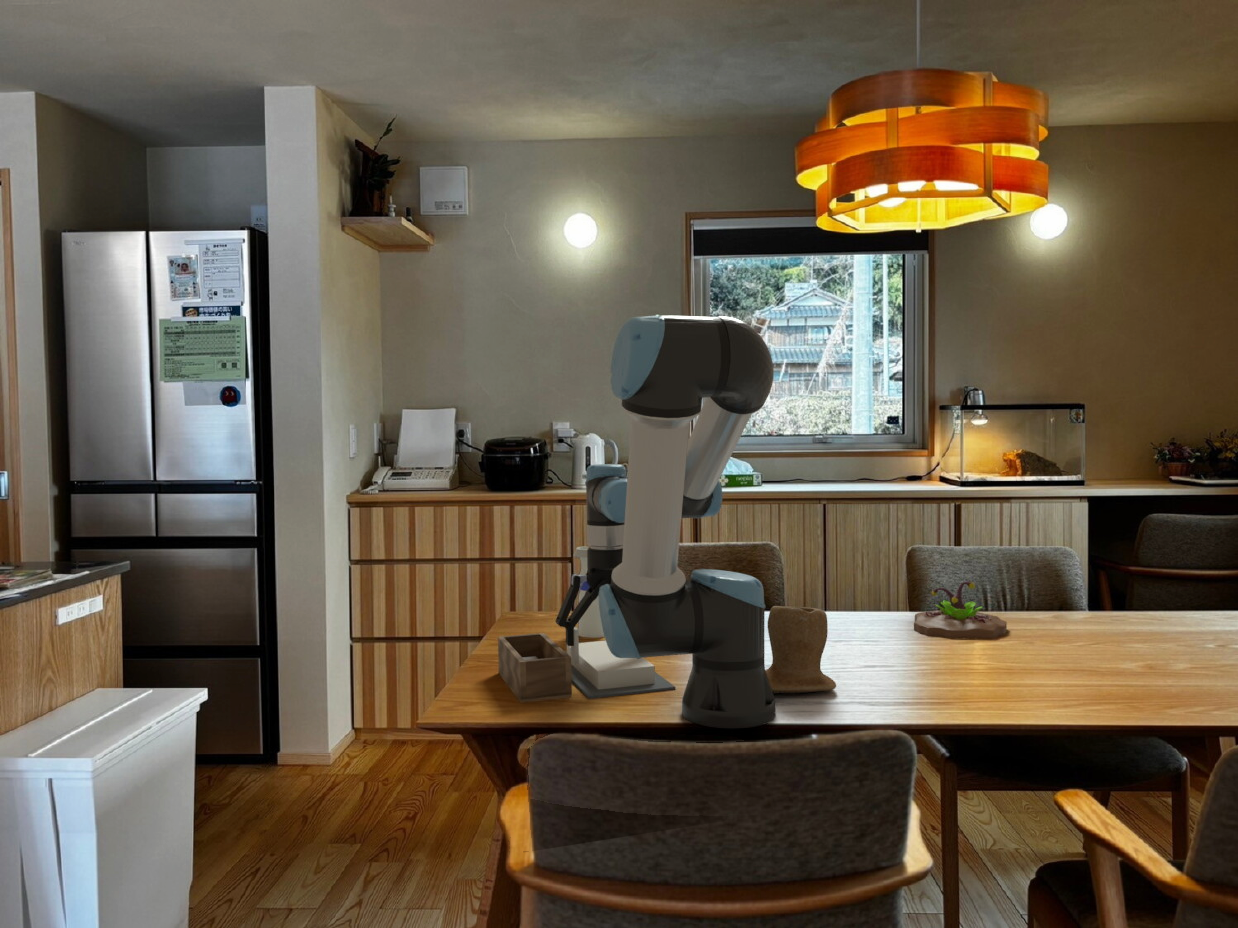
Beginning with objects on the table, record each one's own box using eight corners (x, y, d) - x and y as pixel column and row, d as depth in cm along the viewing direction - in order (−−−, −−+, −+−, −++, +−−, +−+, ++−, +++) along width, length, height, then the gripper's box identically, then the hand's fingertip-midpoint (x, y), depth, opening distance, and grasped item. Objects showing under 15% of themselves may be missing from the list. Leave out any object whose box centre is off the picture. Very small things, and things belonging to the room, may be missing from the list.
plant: (1009, 643, 201) (1010, 591, 200) (912, 638, 207) (912, 587, 206) (1004, 623, 220) (1004, 575, 219) (915, 619, 226) (915, 572, 225)
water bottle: (577, 629, 218) (575, 520, 217) (614, 629, 217) (612, 520, 216) (572, 637, 210) (570, 524, 209) (610, 637, 209) (609, 524, 208)
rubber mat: (675, 689, 169) (675, 686, 169) (588, 698, 164) (588, 696, 164) (625, 652, 196) (625, 650, 196) (549, 659, 191) (549, 657, 191)
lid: (654, 683, 171) (654, 665, 171) (598, 689, 168) (598, 671, 168) (617, 655, 192) (617, 639, 192) (566, 660, 189) (566, 644, 189)
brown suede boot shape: (823, 679, 175) (823, 598, 174) (842, 698, 163) (842, 611, 162) (741, 681, 174) (741, 599, 173) (754, 700, 162) (753, 613, 161)
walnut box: (571, 697, 165) (571, 657, 165) (520, 702, 163) (520, 662, 162) (544, 668, 184) (544, 632, 184) (498, 673, 182) (497, 636, 181)
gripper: (661, 540, 186) (662, 649, 187) (538, 547, 179) (540, 660, 180) (675, 545, 179) (676, 658, 180) (547, 552, 172) (550, 670, 173)
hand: (608, 659), depth 180 cm, fingers open, 12 cm apart
